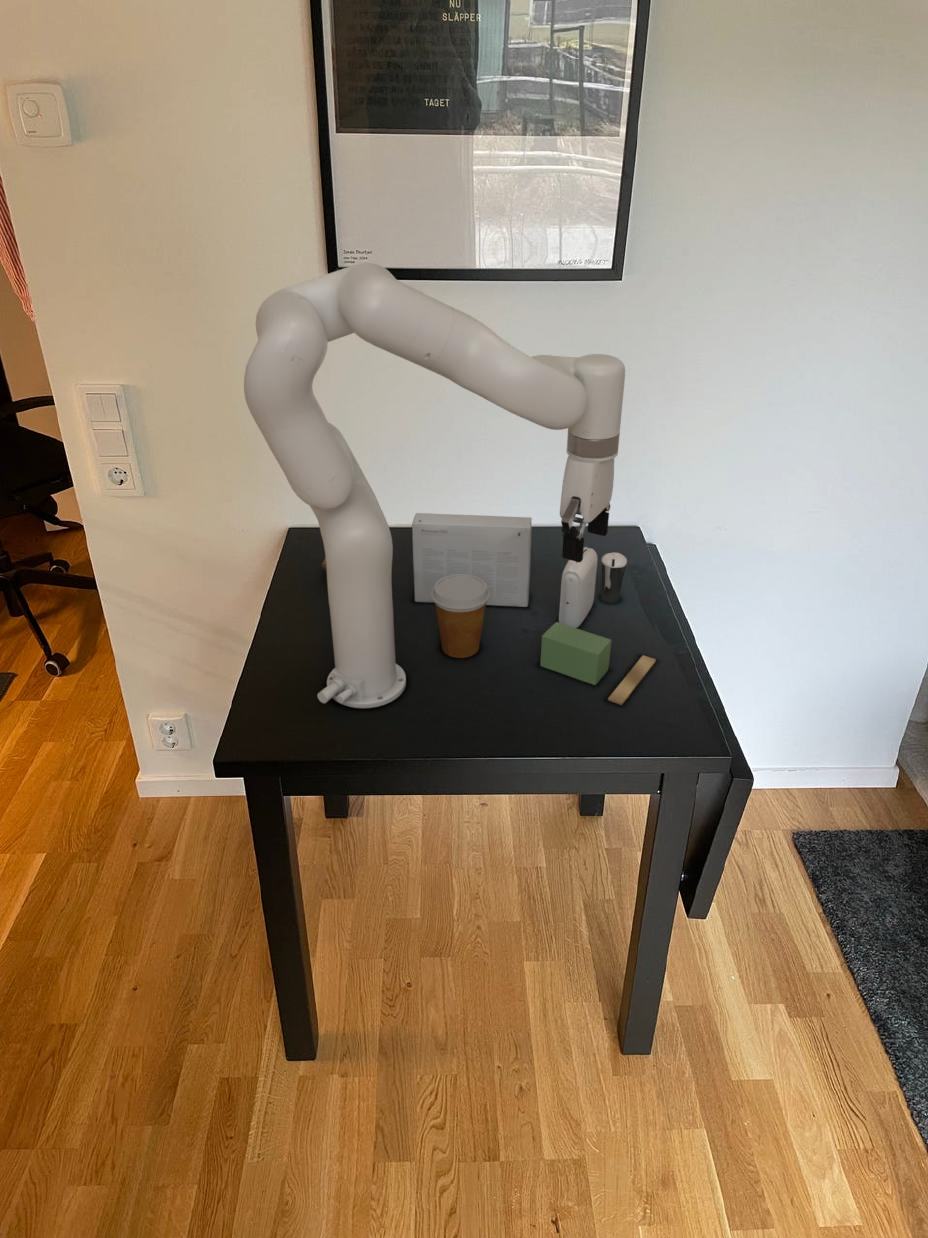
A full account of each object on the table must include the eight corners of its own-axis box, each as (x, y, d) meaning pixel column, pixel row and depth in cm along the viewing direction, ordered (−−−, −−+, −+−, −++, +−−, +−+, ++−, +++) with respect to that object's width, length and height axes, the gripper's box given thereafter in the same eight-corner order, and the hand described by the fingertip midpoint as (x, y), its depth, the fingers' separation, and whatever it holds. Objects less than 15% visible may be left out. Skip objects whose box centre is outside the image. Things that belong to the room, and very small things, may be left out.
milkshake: (595, 605, 165) (600, 557, 160) (599, 591, 169) (603, 543, 164) (620, 608, 164) (626, 560, 159) (623, 594, 168) (629, 546, 163)
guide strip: (621, 705, 140) (622, 703, 140) (607, 700, 141) (607, 698, 141) (656, 661, 150) (656, 659, 150) (642, 656, 151) (642, 655, 151)
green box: (595, 685, 144) (598, 654, 141) (540, 666, 149) (541, 635, 146) (608, 670, 148) (611, 639, 145) (554, 651, 152) (556, 621, 149)
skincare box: (529, 593, 169) (532, 516, 160) (528, 608, 164) (531, 530, 156) (417, 587, 170) (415, 510, 162) (413, 602, 166) (410, 524, 157)
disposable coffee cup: (476, 627, 159) (476, 568, 152) (497, 656, 151) (498, 595, 145) (424, 638, 156) (423, 578, 149) (443, 668, 148) (442, 606, 142)
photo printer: (578, 631, 158) (583, 570, 151) (555, 626, 159) (559, 564, 152) (596, 603, 166) (601, 543, 159) (573, 598, 167) (578, 539, 160)
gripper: (592, 419, 140) (584, 519, 149) (544, 458, 127) (539, 564, 136) (638, 428, 136) (627, 529, 146) (593, 468, 124) (585, 576, 133)
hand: (585, 546), depth 141 cm, fingers open, 9 cm apart
